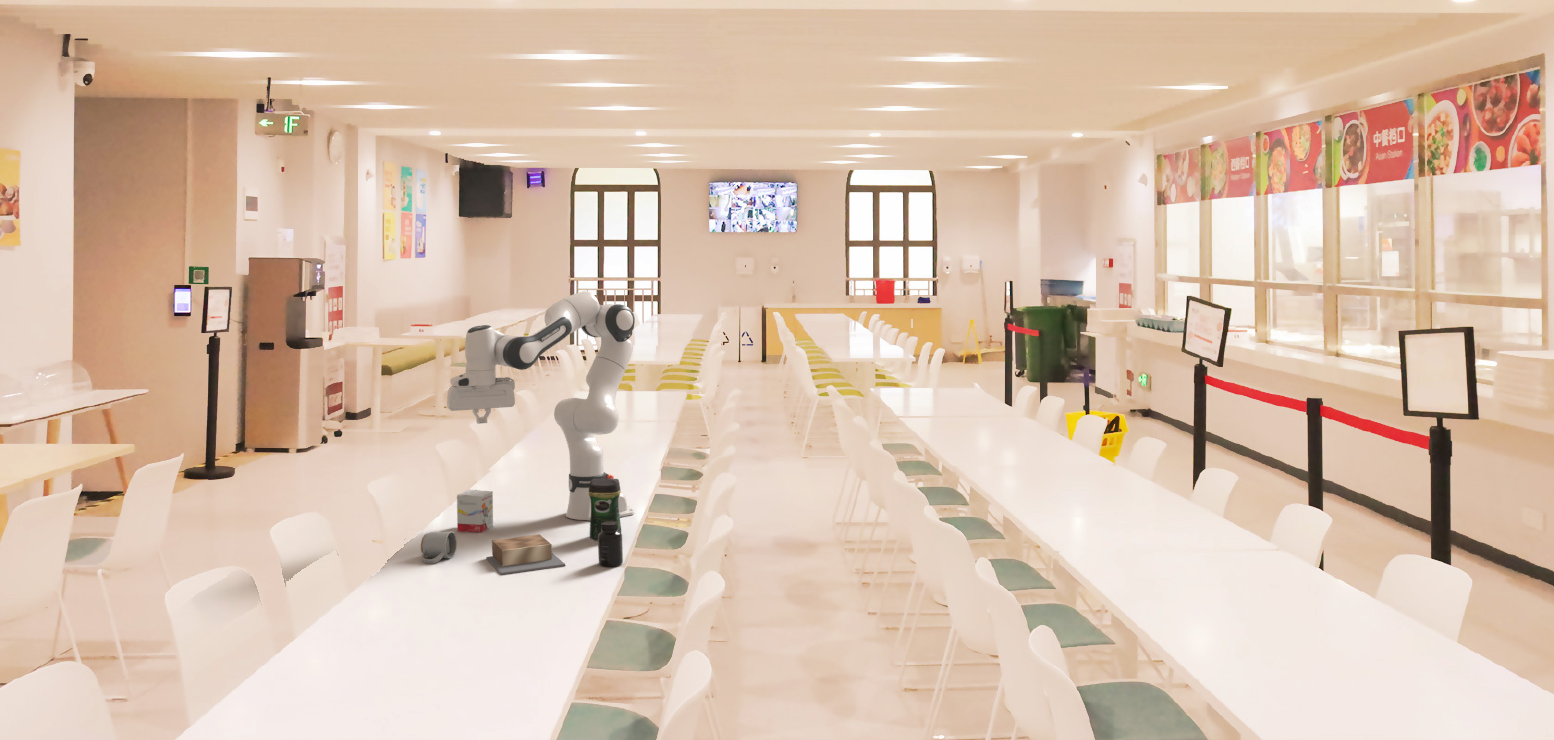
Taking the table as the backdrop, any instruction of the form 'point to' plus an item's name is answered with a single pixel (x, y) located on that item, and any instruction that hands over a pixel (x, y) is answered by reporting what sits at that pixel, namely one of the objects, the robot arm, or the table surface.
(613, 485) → the coffee jar
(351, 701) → the table surface
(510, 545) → the walnut slab
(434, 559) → the ceramic mug
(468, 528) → the ink box
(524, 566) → the mat
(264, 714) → the table surface
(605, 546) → the supplement bottle
